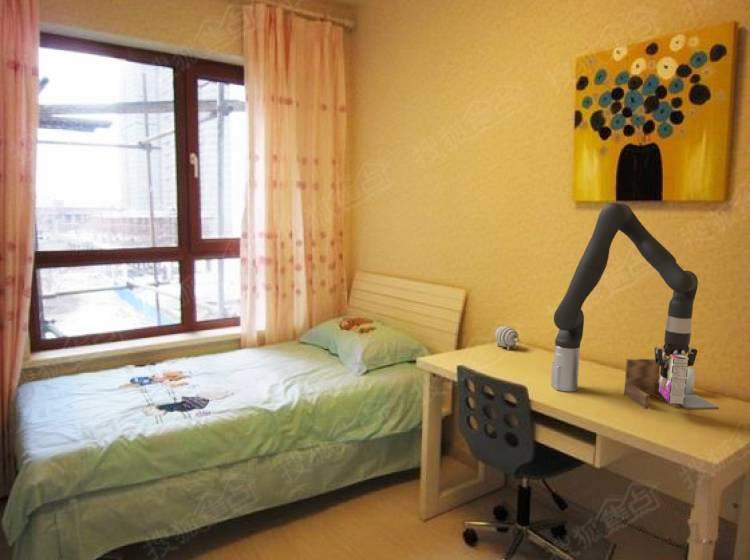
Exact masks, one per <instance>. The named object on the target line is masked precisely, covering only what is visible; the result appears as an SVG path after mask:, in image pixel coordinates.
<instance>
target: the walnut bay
mask: <svg viewBox="0 0 750 560" xmlns="http://www.w3.org/2000/svg"><path fill="white" fill-rule="evenodd" d="M625 365H626V366H625V375H624V376H625V377H624V378H625V379H624V390H623V394H624V396H625V397H627V398H629V400H630V399H631V400H632V401H633V402H634V403H635V404H637V405H639V406H640V407H641V408H643V409H645V410H647V409H649V404H650V403H649V402H650V396H655V397H657V398H658V399H660V400H661V401H664V402H665V403H666V404H668V405H670V406H671V407H673V408H674V409H679V408H680V406H679V404H671V403H669V402H668V401H667V400H666V399H665V398H664V397H663V396H662V395H661V394H660V392H659V382H660V370H661V366H660V365H658V364H656V363H655V358H626V364H625Z"/></svg>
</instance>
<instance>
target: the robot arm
mask: <svg viewBox="0 0 750 560" xmlns="http://www.w3.org/2000/svg"><path fill="white" fill-rule="evenodd" d="M619 231H620V232H621V233H622V234H624V235H625V236H626V237H627V238H628V239H629V240H630V241H631V242H632V244H633V245H634V246H635V247H636V249H637V251H638V253H640V255H641V256H642V257H643V259H644V260H645V261H646V262H647V263H648V264H649V265H650V266H651V267H652V268H653V269H654V270H655V271H656V272H658V274H659V276H660V277H661V278H662V280H663V281H664V283H665V284H666V285H667V286H668V287H669V288H670V289H671V290H673V294H672V298H671V299H670V300H669V304H668V310H667V317H666V321H665V330H664V337H663V338H664V339H663V341H664V345H663V346H662V347H657V346H656V347H654V359H655V363H656V364H658V365H660V371H659V376H660V375H661V376H662V377H663V378H667V373H668V368H667V367H668V364H669V361H670V358H667V356H669V355H670V354H682V355H685V356H686V357H688V358H689V361H688V367H693V366H694V365H695V361H696V358H697V354H698V349H697V348H694V347H690V346H689V345H690V343H691V336H692V328H693V327H692V325H693V323H692V321H693V309H694V303H695V298H696V295H697V291H698V285H699V280H698V277H697V275H696V274H695V273H694V272H693V271H692V270H685V269H683V268H682V267H681V266H680V265H679V264H678V263H677V259H676V257H675V256H674V255H673V254H672V253H671V252H670V251H669V250H668V249H667V248H666V247H665V246H663V244H662V243H661V242H659V241H658V240H657V239H656V237H654V236H653V235H652V234H651V233H650V232H649V231H648V230H647V228H646V227H645V226H644V225H643V224H642V223H641V221H640V220H639V219H638V217H637V216H636V214H635V213H634V211H633V210H632V208H630V206H629V205H627V204H626V203H621V202H611V203H608V204H606V205H604V207H603V208H601V210H600V212H599V215H598V217H597V219H596V224H595V226H594V230H593V232H592V235H591V238H590V239H589V241H588V244H587V246H586V248H585V249H584V251H583V254H582V255H581V258H580V260H579V262H578V264H577V267H576V269H575V271H574V274H573V276H572V277H571V280H570V283H569V286H568V288H567V290H566V293H565V294H564V297H563V298H562V300H561V302H560V303H559V305H558V307H557V308H556V310H555V311H554V314H553V323H554V325H555V327H556V329H558V333H557V335H556V337H555V339H554V356H553V357H554V358H553V359H554V361H553V362H551V377H550V379H551V380H550V386H551V387H552V388H553V389H555V390H556V391H562V392H575V391H577V390H578V387H579V386H578V385H579V370H580V355H581V353H580V351H581V342H582V339H583V335H584V334H583V333H584V326H585V324H584V323H585V314H584V312H583V310H582V307H583V305H584V304H585V301H586V300H587V298H588V297H589V295H590V294H592V292H593V291H594V289H595V288H596V287H597V286H598V284H599V282H600V280H601V279H602V277H603V275H604V273H605V271H606V269H607V266H608V263H609V258H610V257H609V256H610V249H611V245H612V243H613V240H614V239H615V237H616V235H617V233H618V232H619ZM663 352H665V354H664V356H663V357H662V354H663Z"/></svg>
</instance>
